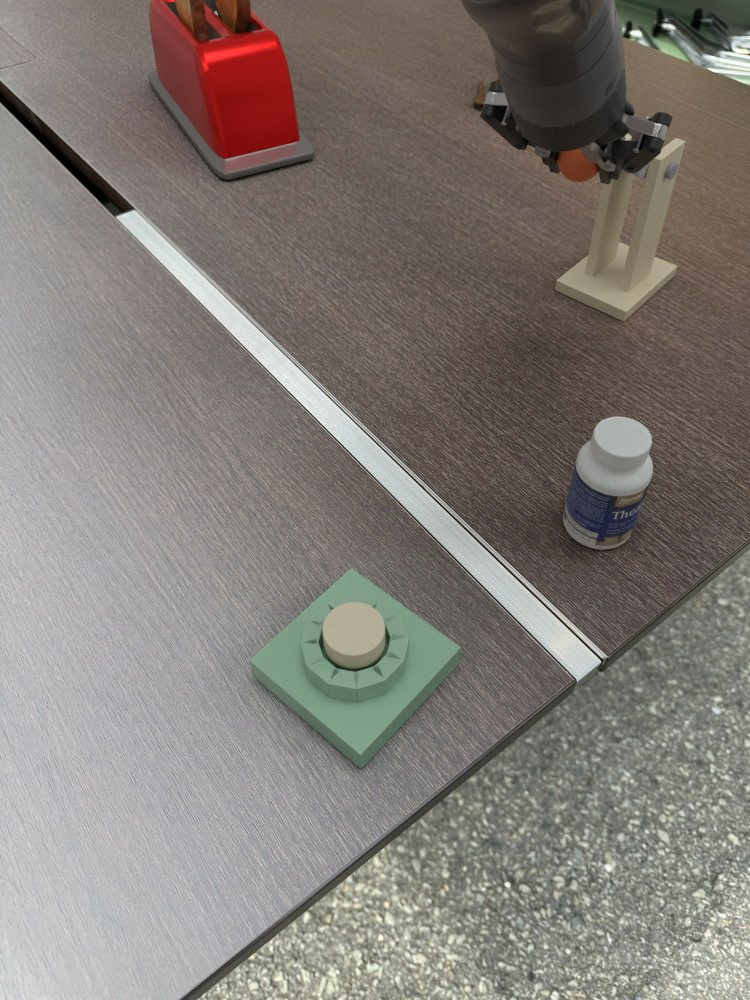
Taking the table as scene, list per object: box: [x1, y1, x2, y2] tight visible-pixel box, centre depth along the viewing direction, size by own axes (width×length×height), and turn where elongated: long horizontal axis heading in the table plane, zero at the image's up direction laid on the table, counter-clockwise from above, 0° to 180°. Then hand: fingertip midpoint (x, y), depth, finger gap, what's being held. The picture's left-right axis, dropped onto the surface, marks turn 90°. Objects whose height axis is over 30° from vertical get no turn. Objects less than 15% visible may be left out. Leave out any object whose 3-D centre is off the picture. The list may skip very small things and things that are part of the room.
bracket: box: [554, 133, 687, 323], centre depth 80 cm, size 10×8×15 cm
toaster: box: [147, 0, 315, 181], centre depth 104 cm, size 32×13×19 cm, turn 26°
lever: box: [557, 149, 650, 183], centre depth 71 cm, size 16×4×4 cm, turn 138°
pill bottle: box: [562, 415, 654, 550], centre depth 62 cm, size 5×5×10 cm
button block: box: [248, 567, 462, 770], centre depth 56 cm, size 10×10×4 cm
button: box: [322, 602, 385, 669], centre depth 54 cm, size 4×4×2 cm
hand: (583, 166), depth 69 cm, fingers closed on lever, 3 cm apart
